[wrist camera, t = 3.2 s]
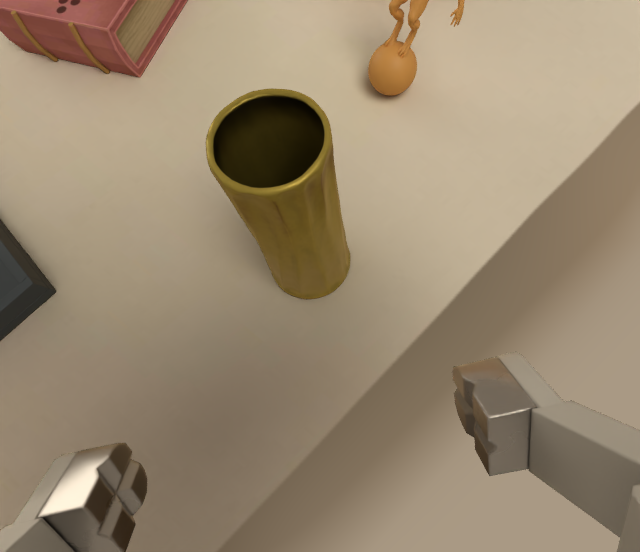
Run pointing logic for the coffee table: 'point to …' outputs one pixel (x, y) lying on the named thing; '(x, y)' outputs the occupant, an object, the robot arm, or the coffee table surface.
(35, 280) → the tray
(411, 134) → the coffee table surface
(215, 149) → the vase
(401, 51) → the figurine
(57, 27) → the book
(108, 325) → the coffee table surface
